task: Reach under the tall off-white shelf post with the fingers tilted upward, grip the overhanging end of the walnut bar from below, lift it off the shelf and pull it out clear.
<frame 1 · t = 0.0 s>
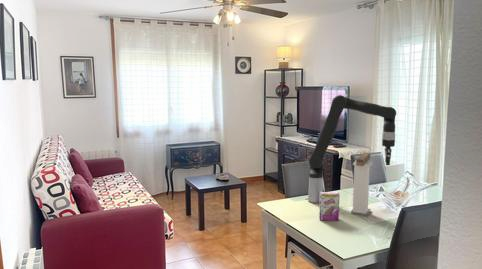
hand: (387, 163, 233), 29 cm above the table, tool pointing down, fingers open, 8 cm apart
walnut bar: (363, 162, 226), point 32 cm above the table, touching shelf post
shelf post: (360, 212, 228), on the table
candy bar box: (328, 219, 217), on the table
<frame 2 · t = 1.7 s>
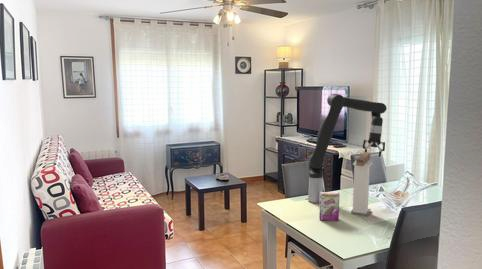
hand: (372, 155, 248), 31 cm above the table, tool pointing down, fingers open, 8 cm apart
nothing on the table moved.
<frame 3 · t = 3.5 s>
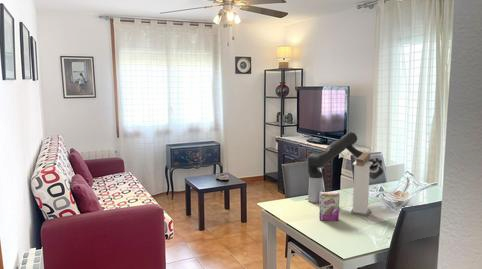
hand: (369, 158, 244), 30 cm above the table, tool pointing upward, fingers open, 8 cm apart
nothing on the table moved.
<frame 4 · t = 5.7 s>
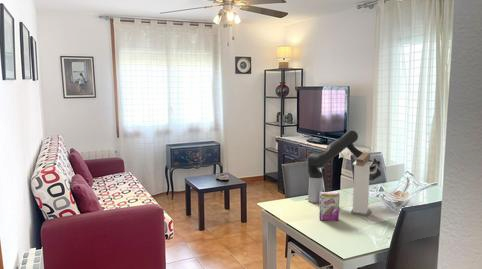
hand: (367, 159, 239), 31 cm above the table, tool pointing upward, fingers open, 8 cm apart
nothing on the table moved.
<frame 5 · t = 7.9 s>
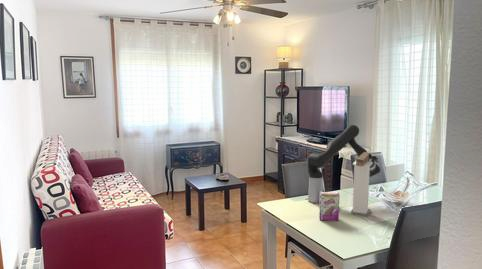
hand: (365, 154, 231), 35 cm above the table, tool pointing upward, fingers closed on walnut bar, 4 cm apart
walnut bar: (363, 162, 226), point 32 cm above the table, touching gripper, shelf post
everything else where it was.
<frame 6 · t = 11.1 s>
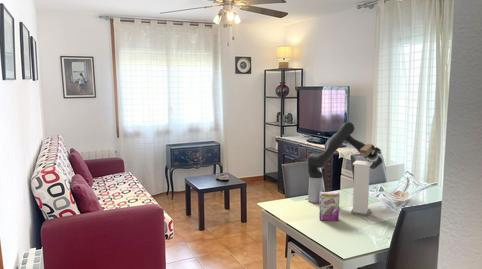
hand: (368, 146, 239), 39 cm above the table, tool pointing upward, fingers closed on walnut bar, 4 cm apart
walnut bar: (366, 153, 234), point 36 cm above the table, touching gripper
everything else where it was.
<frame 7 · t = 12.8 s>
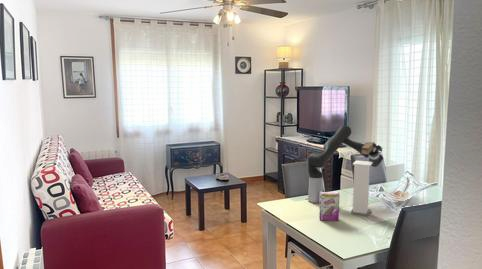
hand: (370, 144, 245), 40 cm above the table, tool pointing upward, fingers closed on walnut bar, 4 cm apart
walnut bar: (368, 150, 239), point 36 cm above the table, touching gripper
everything else where it was.
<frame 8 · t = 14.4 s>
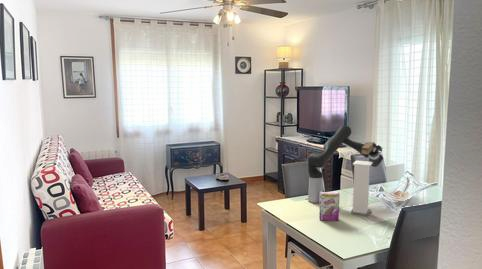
hand: (370, 144, 245), 40 cm above the table, tool pointing upward, fingers closed on walnut bar, 4 cm apart
walnut bar: (368, 150, 239), point 36 cm above the table, touching gripper
everything else where it was.
at the end: the gripper is holding walnut bar; walnut bar touching gripper; walnut bar moved 16.6 cm from its start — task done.
